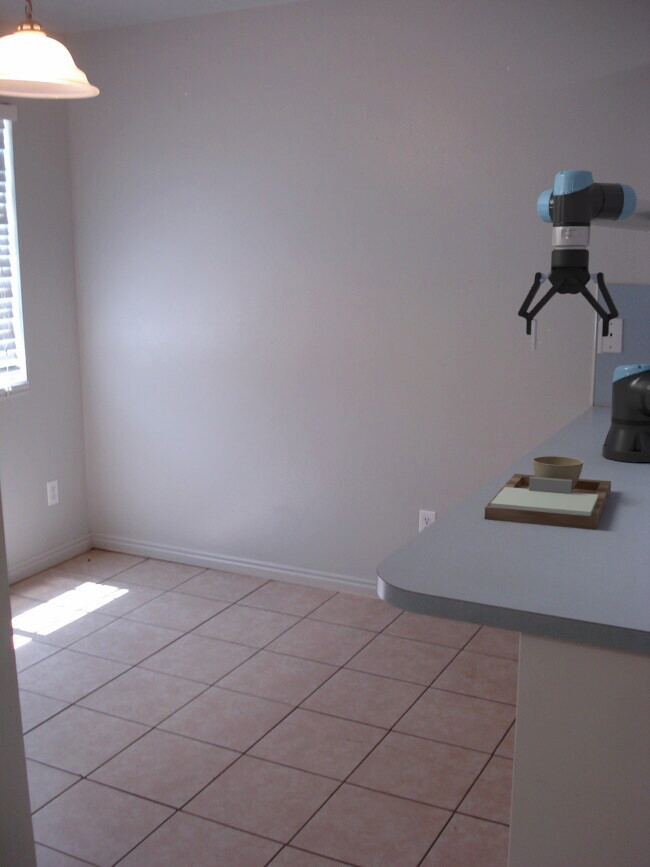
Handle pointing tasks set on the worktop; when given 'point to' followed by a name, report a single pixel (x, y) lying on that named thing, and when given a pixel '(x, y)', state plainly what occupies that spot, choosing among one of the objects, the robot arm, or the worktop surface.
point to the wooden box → (553, 518)
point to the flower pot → (558, 468)
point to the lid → (546, 498)
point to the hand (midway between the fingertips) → (566, 351)
